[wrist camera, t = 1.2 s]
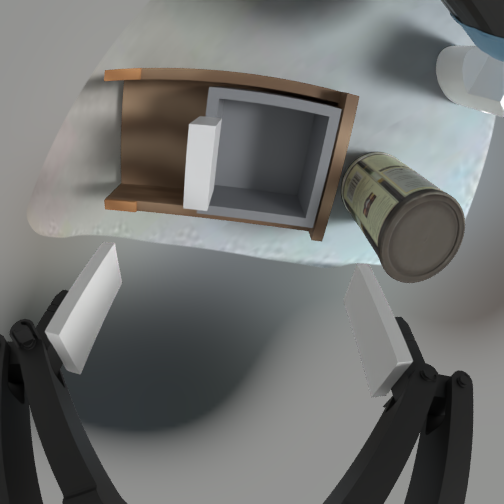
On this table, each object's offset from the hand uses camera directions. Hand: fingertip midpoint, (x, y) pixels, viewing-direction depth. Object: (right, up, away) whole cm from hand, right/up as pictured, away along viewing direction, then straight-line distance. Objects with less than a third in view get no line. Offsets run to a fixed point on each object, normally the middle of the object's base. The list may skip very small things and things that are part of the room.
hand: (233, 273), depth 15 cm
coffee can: (+18, +10, +21) cm, 29 cm away
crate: (+2, +13, +17) cm, 22 cm away
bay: (-3, +15, +18) cm, 23 cm away
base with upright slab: (+29, +25, +11) cm, 41 cm away
